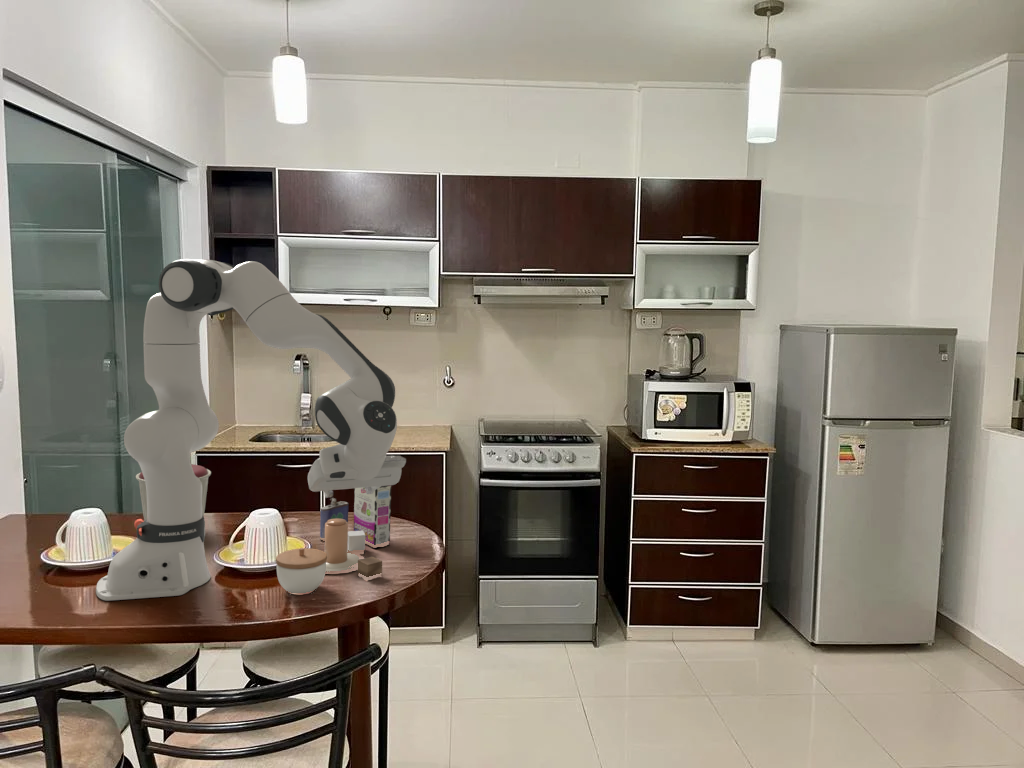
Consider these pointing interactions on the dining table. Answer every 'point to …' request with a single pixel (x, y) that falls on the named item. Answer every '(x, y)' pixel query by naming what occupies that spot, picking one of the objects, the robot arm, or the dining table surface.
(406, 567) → the dining table surface
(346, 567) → the cream plate
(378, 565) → the walnut block
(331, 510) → the flask
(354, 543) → the grey block
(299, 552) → the lidded jar
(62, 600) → the dining table surface
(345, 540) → the tan cylinder
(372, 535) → the candy bar box
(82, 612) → the dining table surface
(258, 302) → the robot arm
